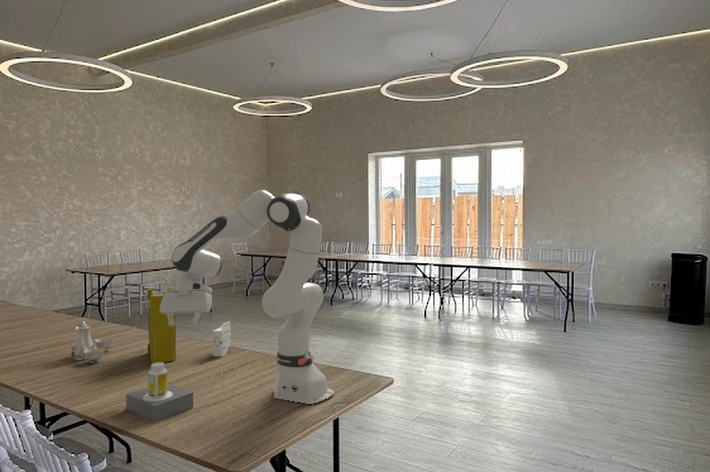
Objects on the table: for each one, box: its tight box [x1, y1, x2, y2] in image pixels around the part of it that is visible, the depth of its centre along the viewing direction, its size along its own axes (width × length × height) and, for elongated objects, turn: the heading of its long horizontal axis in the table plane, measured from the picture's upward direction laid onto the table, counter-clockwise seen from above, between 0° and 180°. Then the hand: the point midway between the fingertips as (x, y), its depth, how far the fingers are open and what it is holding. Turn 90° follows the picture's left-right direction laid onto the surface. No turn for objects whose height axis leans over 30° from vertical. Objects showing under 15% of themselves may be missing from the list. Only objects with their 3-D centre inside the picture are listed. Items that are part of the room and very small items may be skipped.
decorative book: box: [146, 286, 177, 364], centre depth 211 cm, size 20×11×30 cm, turn 26°
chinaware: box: [68, 320, 115, 364], centre depth 211 cm, size 28×17×17 cm, turn 21°
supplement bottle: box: [147, 362, 168, 398], centre depth 152 cm, size 6×6×10 cm
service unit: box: [125, 382, 194, 423], centre depth 155 cm, size 17×14×5 cm
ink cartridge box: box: [212, 320, 232, 358], centre depth 217 cm, size 9×5×15 cm, turn 168°
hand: (182, 325), depth 172 cm, fingers open, 8 cm apart
